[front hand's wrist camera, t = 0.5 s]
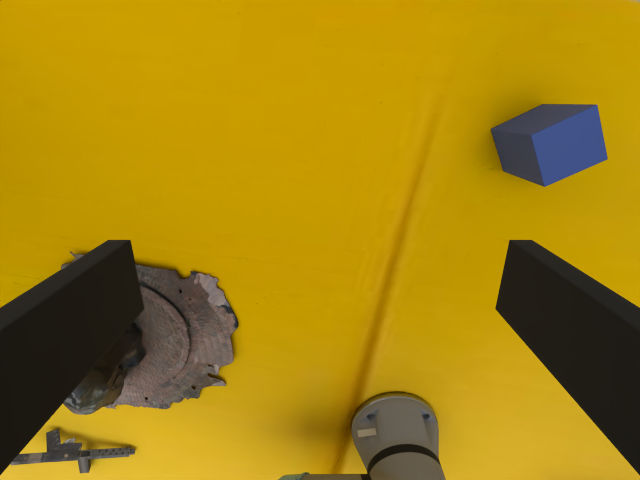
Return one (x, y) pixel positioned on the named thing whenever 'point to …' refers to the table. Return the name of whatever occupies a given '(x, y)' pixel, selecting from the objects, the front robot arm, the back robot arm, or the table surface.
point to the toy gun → (70, 453)
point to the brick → (550, 142)
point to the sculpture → (162, 346)
